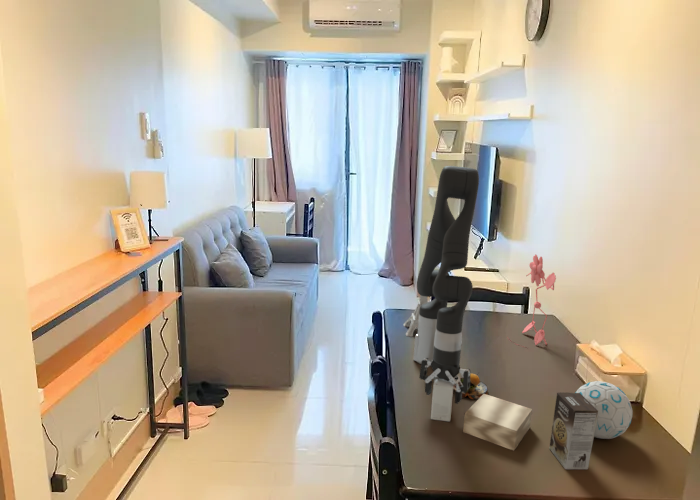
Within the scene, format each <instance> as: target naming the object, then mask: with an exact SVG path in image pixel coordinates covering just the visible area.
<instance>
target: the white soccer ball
mask: <svg viewBox="0 0 700 500" xmlns="http://www.w3.org/2000/svg"><path fill="white" fill-rule="evenodd" d="M574 393H580V394H581V395H582V396H584V397H585V398H586V399H587V400H588V401H589V402H590V403H591V404H592V405H593V406H594V407H595V408H596V409H597V410H598V416H597V421H596V427H595V433H594V438H597V439H604V440H605V439H606V440H610V439H614V438H617V437H620V436H621V435H623V434H624V433H625V432H626V431H627V430H628V429H629V427H630V425H631V423H632V418H633V413H634V411H633V408H632V403H631V401H630V399H629V397H628V396H627V395H626V393H625V392H624V391H623V390H622V389H620V387H618V386H617V385H614V384H613V383H611V382H606V381H601V380H595V381H589V382H587V383H585V384H583V385H581V386H580V387H579V388H577V390H576V391H575V392H574Z"/></svg>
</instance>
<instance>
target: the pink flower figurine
mask: <svg viewBox="0 0 700 500" xmlns="http://www.w3.org/2000/svg"><path fill="white" fill-rule="evenodd" d="M543 262H544V261H543V257H542V256H538V255H537V254H534V255H533V257H532V261H531V262H530V263H529V264H528V265H529V268H530V272H529V273H528V274H526V277H527V276H529V275H530V280H531V281H530V282H531V284H534V283H535V285H536V289H535V297H536V300H535V302H534V304H533V306H534V307H533V311H532V312H533V314H532V321H531V322H530V323H529V324H528V325H526V326H525V327H524V328H523V330H522V332H521V333H522V334H524V333H526V332H529V331H530V330H532V331H534V332H535V335H534V344H535V346H537V345H538V344H540V343H541V342H542V341H543V342H544V345H546V346H547V345H548V343H547V340H546V338H545V336H546V335H545V333H546V332H545V330H544V328H545V323H546V321H547V318H548V315H547V314H546V313H545V312H544V311H543V309H541V307H542V303H541V302H540V301H538V290H540V289H541V288H543V287H545V288H546V290H547V291H548V290H549V289H551V290H552V291H554V290H555V283H556V279H557V277H556V275H555V272H552V273H551V274H548V276H547V277H546V278H545V274H546V273H545V271H544V270H543V269H544V268H543ZM541 282H542V285H541V286H540V284H541ZM536 309H539V310H540V312H541V313H543V315H545V319H544V322H543V324H542V328H541V329H539V330H538V331H537V328H536V325H535V324H536V321H534V319H535V318H534V317H535V311H536ZM533 328H534V329H533ZM507 339H508V341H510V342H512V343H514V345H518V346H520V347H523V348H527V349H528V347H526V346H523V345H520V344H518V343H516V342H514V341H512V340H511V339H510V338H509V337H507Z"/></svg>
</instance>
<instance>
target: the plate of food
mask: <svg viewBox="0 0 700 500" xmlns="http://www.w3.org/2000/svg"><path fill="white" fill-rule="evenodd" d="M478 374H479V373H477V374H475V373H471V372H470V388H469V389H468V390H467V392H464V391H462V399H465V398H466V397H467V396H468V398H469V399H471V400H478V399H479V398H480V397H481V396H482V395H483V394H486V395H489V394H488V393H489V392H488V391H489V389H488V386H487V384H485V383H484V382H482V381H481V380H480V378H479V375H478ZM459 378H460V381H461V383H462V385H463V377H459ZM453 391H455V392H456V391H457V390H456V388H455V387H454V385H453Z"/></svg>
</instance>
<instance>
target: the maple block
mask: <svg viewBox="0 0 700 500" xmlns="http://www.w3.org/2000/svg"><path fill="white" fill-rule="evenodd" d="M532 414H533V409H532V408H531V407H530V408H529V407H526V406H524V405H520V404H518V403H514V402H511V401H507V400H505V399H502V398H498V397H495V396H493V395H489V394H487V395H486V394H483V395H482V396H481V397H480V398H477V399H476V401H475V402H473V404H472V405H471V406H470V407H469V408H468V409H467V410H466V411H465V412H464V418H463V427H462V430H463V431H462V433H465V434H468V435H470V436H473V437H476V438H478V439H481V440H484V441H485V442H489V443H491V444H494V445H497V446H500V447H503V448H506V449H508V450H510V451H513V452H514V451H515V450H516V449H517V447H518V446H519V444H520V443H521V441H522V440H523V438H524V437H525V435H527V433H528V431H529V429H530V428H531V421H532Z"/></svg>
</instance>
